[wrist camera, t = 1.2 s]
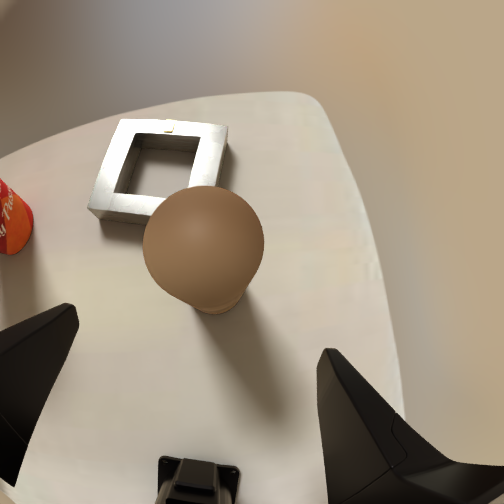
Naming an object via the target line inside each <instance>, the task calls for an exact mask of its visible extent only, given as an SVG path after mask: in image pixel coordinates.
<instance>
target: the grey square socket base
mask: <svg viewBox="0 0 504 504" xmlns="http://www.w3.org/2000/svg"><path fill="white" fill-rule="evenodd" d="M227 137H228V126H224V125H215V124H205V123H194V122H182V121H175V120H167V121H166V120H139V119H121V121H120V123H119V126H118V128H117V130H116V132H115V134H114V137H113V139H112V141H111V144H110V146H109V148H108V151H107V153H106V156H105V158H104V161H103V163H102V166H101V169H100V171H99V174H98V177H97V180H96V182H95V185H94V188H93V191H92V194H91V197H90V200H89V203H88V207H87V208H88V209H89V210H90V211H91V212H92V213H93V214H94V215H95V216H96V217H97V218H98V219H103V220H111V221H119V222H126V223H134V224H141V225H147V223H148V221H149V219H150V217H151V215H152V214H153V212H154V211H155V210H156V208H157V207H158V206H159V205H160V204H161V203H162V202H163V201H164V200H165V199H166V198H158V197H149V196H140V195H130V194H126V192H127V189H128V186H129V183H130V180H131V177H132V174H133V171H134V168H135V165H136V162H137V159H138V156H139V153H140V151H141V148H152V149H166V150H178V151H188V152H197V154H196V157H195V161H194V165H193V169H192V173H191V177H190V181H189V185H188V188H189V187H194V186H215V187H218V185H219V180H220V175H221V170H222V165H223V160H224V156H225V151H226V146H227Z"/></svg>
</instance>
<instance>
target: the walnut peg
mask: <svg viewBox="0 0 504 504" xmlns="http://www.w3.org/2000/svg"><path fill="white" fill-rule="evenodd" d="M263 251H264V235H263V230H262V226H261V224H260V221H259V219H258V217H257V215H256V213H255V212H254V210H253V209H252V208H251V206H250V205H249V204H248V203H247V202H246V201H245V200H243V199H242V198H241V197H240V196H238V195H236V194H235V193H233V192H231V191H229V190H226V189H223V188H220V187H215V186H194V187H189V188H186V189H183V190H181V191H178V192H176V193H174V194H173V195H171V196H169V197H168V198H167V199H165V200H164V201H163V202H162V203H161V204H160V205H159V206H158V207H157V208H156V210H155V211H154V212H153V214H152V215H151V217H150V219H149V221H148V223H147V225H146V228H145V232H144V237H143V255H144V259H145V263H146V266H147V268H148V271H149V273H150V274H151V276H152V278H153V279H154V280H155V282H156V283H157V284H158V285H159V286H160V287H161V288H162V289H163V290H165V291H166V292H167V293H169V294H170V295H172V296H174V297H176V298H177V299H179V300H181V301H183V302H185V303H187V304H189V305H191V306H192V307H194V308H196V309H198V310H200V311H202V312H205V313H208V314H221V313H224V312H226V311H228V310H230V309H232V308H233V307H234V306H235V305H236V304H237V302H238V301H239V299H240V298H241V296H242V294H243V293H244V291H245V290H246V288H247V286H248V285H249V283H250V282H251V280H252V278H253V277H254V275H255V274H256V272H257V270H258V268H259V266H260V263H261V260H262V257H263Z"/></svg>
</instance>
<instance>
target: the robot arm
mask: <svg viewBox="0 0 504 504" xmlns="http://www.w3.org/2000/svg"><path fill="white" fill-rule="evenodd" d="M78 329H79V319H78V315H77V311H76V307H75V306H74V305H73V304H69V303H63V304H61V305H58V306H56V307H54V308H52V309H49V310H47V311H45V312H42V313H40V314H38V315H36V316H33V317H31V318H29V319H27V320H24V321H22V322H20V323H18V324H16V325H13V326H11V327H9V328H7V329H5V330H2V331H0V478H1V479H3V480H4V481H5V482H7V483H8V484H10V485H11V486H12V487H15V484H16V481H17V478H18V474H19V471H20V468H21V465H22V462H23V459H24V456H25V453H26V450H27V447H28V444H29V442H30V439H31V436H32V434H33V431H34V429H35V426H36V424H37V421H38V419H39V416H40V414H41V412H42V409H43V407H44V405H45V402H46V400H47V398H48V396H49V394H50V391H51V389H52V387H53V385H54V383H55V381H56V379H57V377H58V375H59V373H60V371H61V369H62V367H63V365H64V362H65V360H66V358H67V356H68V353H69V351H70V348H71V346H72V343H73V341H74V338H75V336H76V333H77V331H78ZM317 408H318V416H319V424H320V432H321V439H322V448H323V456H324V465H325V474H326V483H327V493H328V504H504V466H491V465H478V464H467V463H460V462H456V461H453V460H451V459H449V458H447V457H446V456H444V455H443V454H441V453H440V452H439V451H438V450H437V449H436V448H434V447H433V446H432V445H431V444H430V443H429V442H427V441H426V440H425V439H424V438H422V437H421V436H420V435H419V434H418V433H417V432H416V431H415V430H414V429H412V428H411V427H410V426H409V425H408V424H407V423H406V422H405V421H404V420H403V419H402V417H401V416H400V415H399V414H398V413H395V410H394V409H393V408H392V407H391V406H390V405H389V404H388V403H387V402H386V401H385V400H384V399H383V398H382V396H381V395H380V394H379V393H378V392H377V391H376V390H375V389H374V388H373V387H372V386H371V385H370V384H369V383H368V382H367V381H366V379H365V378H364V377H363V376H362V375H361V374H360V373H359V372H358V371H357V370H356V369H355V368H354V367H353V366H352V365H351V364H350V363H349V361H348V360H347V359H346V358H345V357H344V356H343V355H342V354H341V353H340V352H339V351H338V350H337V349H335V348H325V349H324V350H323V352H322V355H321V357H320V360H319V362H318V365H317ZM162 460H166V461H167V463H164V462H163V461H162ZM232 470H234V471H236V472H234V473H231V472H230V471H232ZM238 478H239V469H238V468H237V467H236V466H229V465H219V464H215V463H213V462H206V461H199V460H193V459H187V458H184V459H179V458H174V457H169V456H161V457H160V458H159V461H158V497H157V499H156V502H155V504H234V503H235V497H236V491H237V484H238Z"/></svg>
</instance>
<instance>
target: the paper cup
mask: <svg viewBox="0 0 504 504" xmlns="http://www.w3.org/2000/svg"><path fill="white" fill-rule="evenodd" d="M32 227H33V214H32V211H31V209H30V207H29V206H28V205H27V204H26V203H25V202H24V201H23V200H22V199H21V198H20V197H19V196H18V195H17V194H16V193H15V192H14V191H13V190H12V189H11V188H10V187H8V186H7V185H6V184H5V183H4V182H3V181H2V180H1V179H0V253H4V254H8V255H12V254H16V253H17V252H19V251H20V250H21V249H22V248H23V247H24V246H25V244H26V243H27V241H28V239H29V237H30V234H31V231H32Z"/></svg>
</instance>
